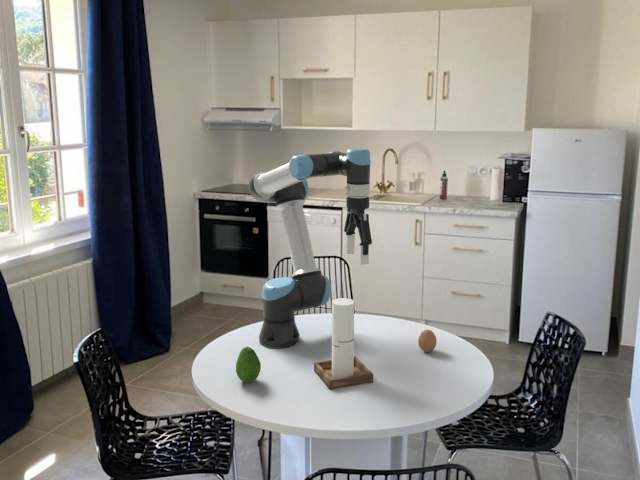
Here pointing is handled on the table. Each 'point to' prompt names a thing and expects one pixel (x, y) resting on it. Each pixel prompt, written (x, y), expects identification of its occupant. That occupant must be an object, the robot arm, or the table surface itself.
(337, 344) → the cylindrical container
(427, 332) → the egg
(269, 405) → the table surface
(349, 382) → the tray
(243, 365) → the avocado
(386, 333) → the table surface
